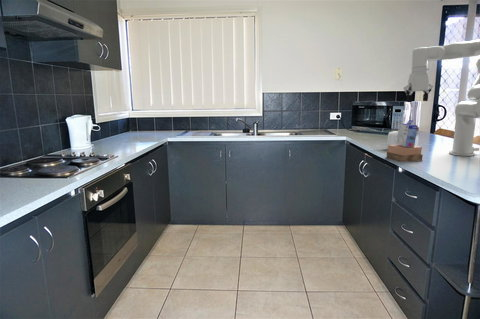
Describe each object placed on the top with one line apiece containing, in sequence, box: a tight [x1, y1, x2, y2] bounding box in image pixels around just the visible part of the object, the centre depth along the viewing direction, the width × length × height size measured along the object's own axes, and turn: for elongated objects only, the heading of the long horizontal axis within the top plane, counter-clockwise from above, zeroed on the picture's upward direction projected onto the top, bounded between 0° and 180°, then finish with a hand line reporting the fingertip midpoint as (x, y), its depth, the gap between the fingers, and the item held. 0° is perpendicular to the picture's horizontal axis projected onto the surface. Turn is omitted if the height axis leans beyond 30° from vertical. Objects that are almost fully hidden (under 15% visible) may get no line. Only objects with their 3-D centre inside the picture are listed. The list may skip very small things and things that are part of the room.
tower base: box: [386, 151, 423, 163], centre depth 178 cm, size 13×13×4 cm
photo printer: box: [386, 130, 398, 150], centre depth 208 cm, size 10×4×12 cm, turn 84°
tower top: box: [387, 145, 423, 156], centre depth 177 cm, size 12×12×4 cm
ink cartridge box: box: [396, 119, 418, 147], centre depth 174 cm, size 10×6×14 cm, turn 3°
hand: (417, 101), depth 178 cm, fingers open, 9 cm apart
